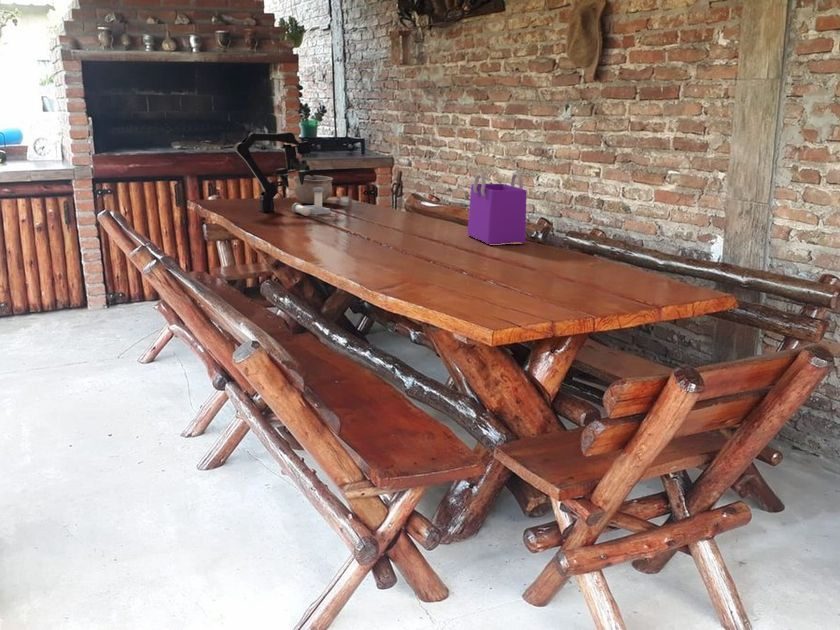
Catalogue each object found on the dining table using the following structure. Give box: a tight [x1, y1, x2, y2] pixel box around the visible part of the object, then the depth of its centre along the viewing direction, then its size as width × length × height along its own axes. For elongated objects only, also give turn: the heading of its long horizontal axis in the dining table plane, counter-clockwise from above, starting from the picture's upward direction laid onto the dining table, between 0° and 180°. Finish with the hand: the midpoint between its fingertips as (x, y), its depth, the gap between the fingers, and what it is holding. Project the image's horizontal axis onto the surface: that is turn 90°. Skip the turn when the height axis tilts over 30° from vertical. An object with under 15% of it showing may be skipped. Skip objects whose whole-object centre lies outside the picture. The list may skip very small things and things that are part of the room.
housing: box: [303, 204, 331, 216], centre depth 436 cm, size 16×9×2 cm, turn 40°
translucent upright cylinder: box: [313, 187, 323, 209], centre depth 432 cm, size 5×5×12 cm
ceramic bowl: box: [293, 174, 334, 205], centre depth 468 cm, size 22×22×15 cm
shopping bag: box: [467, 171, 527, 244], centre depth 362 cm, size 28×22×30 cm
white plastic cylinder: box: [291, 202, 311, 217], centre depth 427 cm, size 12×5×5 cm
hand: (295, 186), depth 435 cm, fingers open, 9 cm apart
